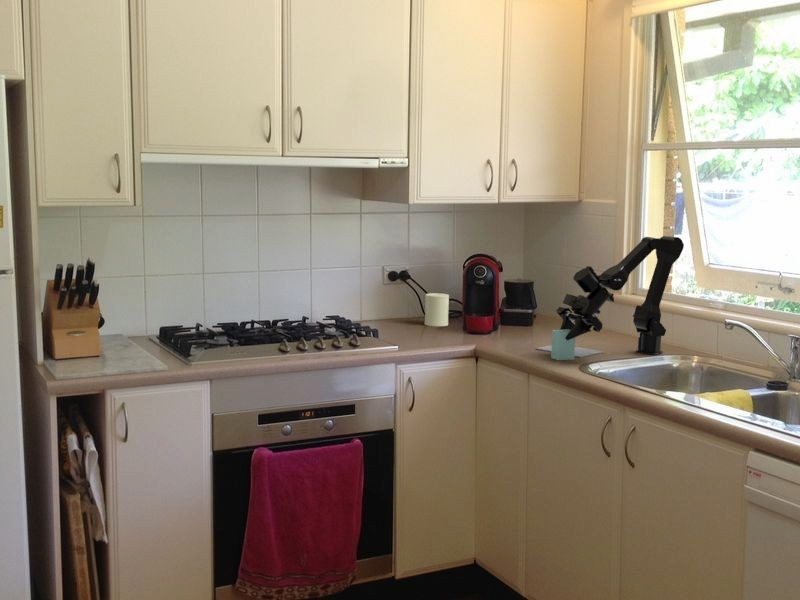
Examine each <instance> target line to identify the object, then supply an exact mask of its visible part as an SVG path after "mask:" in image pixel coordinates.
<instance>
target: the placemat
mask: <svg viewBox="0 0 800 600" xmlns="http://www.w3.org/2000/svg"><path fill="white" fill-rule="evenodd" d="M535 350H538V351H543V352H547V353H551V351H552V344H551V345H550V344H549V345H545V346H540V347H535ZM601 353H602V354H604V351H600V350H596V349H590V348H584V347H579V346H575V353H574V358H580V359H582V358H586V357H587V358H588V357H591V356H597V355H602V354H601Z"/></svg>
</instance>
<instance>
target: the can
mask: <svg viewBox="0 0 800 600" xmlns="http://www.w3.org/2000/svg"><path fill="white" fill-rule="evenodd" d="M424 299H425V302H424V303H425V305H424V306H425V307H424V309H425V312H424V325H425V326H427V327H428V326H429V327H446V326H447V327H448V325H449V306H450V305H449V303H450V301H449V300H450V294H448V293H441V292H437V293H433V292H432V293H431V292H430V293H426V294H425V298H424Z"/></svg>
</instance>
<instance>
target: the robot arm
mask: <svg viewBox="0 0 800 600" xmlns="http://www.w3.org/2000/svg"><path fill="white" fill-rule="evenodd" d="M684 245H685V244H684V243H683V240H682V239H681V238H680V237H679V236H678V237H677V236H670V235H663V236H660V237H659V238H656V237H651V236H650V237H649V236H644V237H642V238H641V240H640V242H639V243H638V244H637V245H636V246H635V247H634V248H633V249H631V251H629V253H628V254H627V255H625V257H624V258H623V259H621V261H619V262H618V263H617V264H615V265H613V266H611V267H609V268H607V269H606V270H604V271H603V272H602V273H601V274H597V273H596V272H595V271H594V268H593V267H592V266H589V265H586V266H585V268H582V269H580V270H579V271H577V272H575V274H574V275H573V280H574V282H575V283H576V284H577V286H578V287H579V288H580V290H581V291H582V292H583V293H586V294H587V293H588V294H587V295H586V296H584V295H582V294H579V295H577V296H576V295H573V294H569V293H566V294H565V296H564V299H563V300H562V304H564V305H567V306H569V307H570V308H569V307H566V306H558V308H557V309H556V311H555V312H556V314H557V315H558V316H559V317H560V318H561V320H562V323H561V326H560V329H559V330H564V329H569V330H570V332H569V333H568V335H567V336H566V340H570V339H572V338H575V339H576V338H578V337H579V336H582V335H583V334H586V333H590V332H592V330H593V332H597V333H600V332H601V330H602V329H604V327H603V326H604V325H603V323H602V320H600V318H598V316H597V315H600V313H601V311H600V309H601V308H602V307H603V305H605V303H607V302H609V303H614V302H615V298H614V293H612V292H610V291H609V290H611V291H616V292H617V291H620V290H621V289H623V287H625V285H626V283H627V282H628V280H629V277H630V275H631V274H632V272H633V271H634V270H635V269H636V268H637V267H638V266H639V265H640V264H641V263H642V262H643V261H644V260H645V259H646V258H647V257H648V256H649V255H650V254H651V253H652V252H653V251H654V250H655V255H656V264H655V268H654V270H653V274H652V277H651V279H650V282H649V283H650V284H649V287H648V290H647V293H646V297H645V300H644V302H643V303H642V304H641V305H636V307H635V309H634V310H635V311H634V313H633V315H632V317H633V321H632V322H633V324H634V326H635V328H636V332H637V333H639V336H638V339H637V341H638V342H637V349H636V351H635V352H636V353H637V352H638V353H641V354H642V353H643V354H647V355H657V353H658V354H661V352H662V353H663V352H664V350H661V347H662V346H661V343H662V337H664V336H665V335H666V332H667V329H666V327H665V326H664V325H663V324H662V322H661V318H662V312H661V309H660V308H661V307H660V305H661V302H662V299H663V296H664V293H665V290H666V285H667V283H668V280H669V277H670V274H671V270H672V267H673V265H674V263H676V262H677V260H678V259H679V258H680V257H681V254H682V252H683V250H684ZM596 314H597V315H596ZM592 327H593V328H592ZM591 329H592V330H591Z"/></svg>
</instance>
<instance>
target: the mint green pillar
mask: <svg viewBox="0 0 800 600" xmlns="http://www.w3.org/2000/svg"><path fill="white" fill-rule="evenodd" d="M569 332H570V330H569V329H564V330H560V329H552V333H551V337H552V338H551V345H552V351H551V352H550V354H551V356H550V359H553V360H556V361H569V360H575V357H574V353H575V347H576V337H575V338H572V339H570V340H566V336H567V335H568V333H569Z"/></svg>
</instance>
